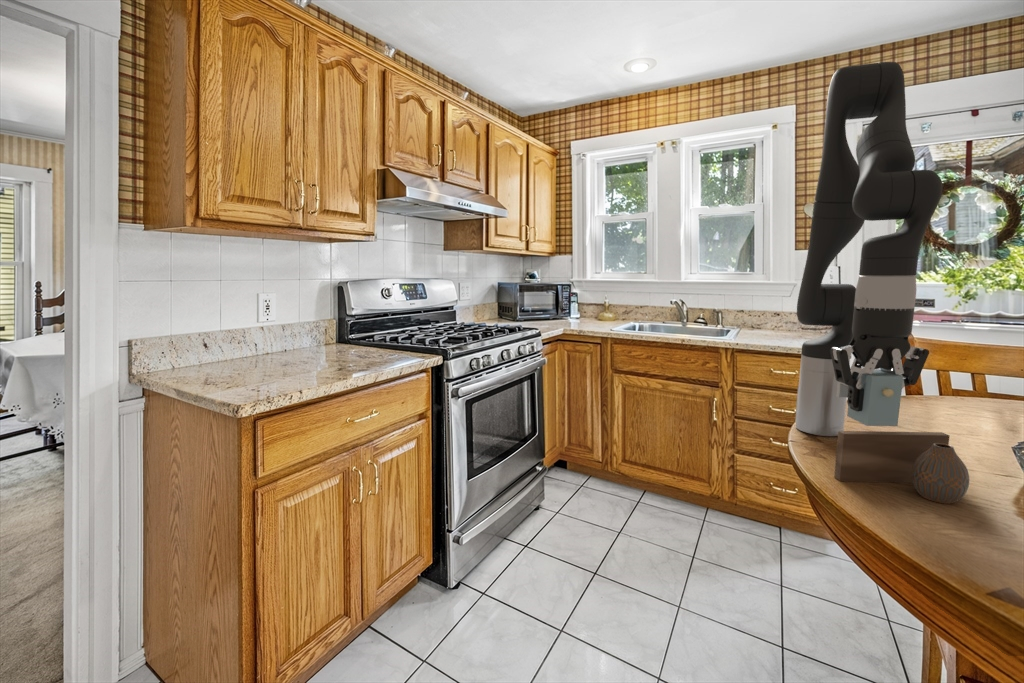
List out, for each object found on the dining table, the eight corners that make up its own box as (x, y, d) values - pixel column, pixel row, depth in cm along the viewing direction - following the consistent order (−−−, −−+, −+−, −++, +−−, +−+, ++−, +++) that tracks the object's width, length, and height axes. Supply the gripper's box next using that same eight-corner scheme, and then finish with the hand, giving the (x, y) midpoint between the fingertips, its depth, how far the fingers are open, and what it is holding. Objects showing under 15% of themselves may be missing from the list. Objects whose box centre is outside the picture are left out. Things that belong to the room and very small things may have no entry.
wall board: (834, 477, 85) (838, 430, 84) (936, 479, 84) (941, 432, 83) (839, 481, 83) (844, 433, 82) (943, 483, 82) (949, 435, 81)
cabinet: (834, 410, 84) (839, 365, 83) (862, 410, 84) (867, 365, 83) (870, 427, 75) (875, 377, 74) (901, 427, 75) (907, 377, 73)
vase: (909, 499, 76) (915, 447, 75) (908, 484, 82) (914, 435, 81) (968, 512, 72) (976, 457, 71) (963, 496, 78) (970, 443, 76)
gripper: (913, 302, 78) (901, 403, 81) (822, 303, 79) (813, 403, 82) (952, 306, 71) (937, 417, 74) (851, 307, 72) (840, 417, 75)
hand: (872, 409), depth 78 cm, fingers closed on cabinet, 4 cm apart
